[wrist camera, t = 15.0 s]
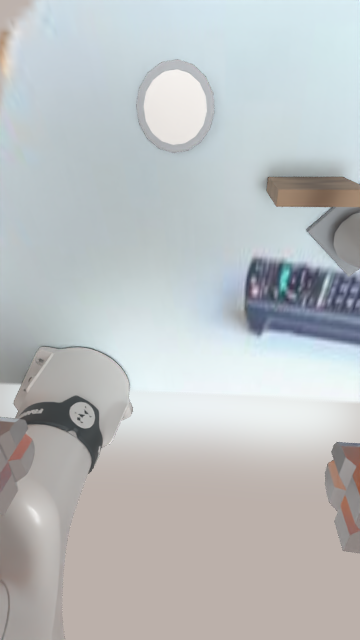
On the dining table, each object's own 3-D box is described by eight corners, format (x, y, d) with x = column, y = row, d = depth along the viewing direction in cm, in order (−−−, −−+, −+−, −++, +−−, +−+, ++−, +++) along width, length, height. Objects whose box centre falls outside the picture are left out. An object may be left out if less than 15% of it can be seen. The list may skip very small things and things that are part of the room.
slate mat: (346, 274, 42) (348, 276, 41) (306, 229, 40) (307, 231, 39) (408, 227, 38) (412, 229, 38) (367, 176, 36) (370, 177, 36)
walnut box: (343, 176, 37) (371, 189, 30) (339, 191, 37) (366, 207, 30) (268, 176, 37) (278, 189, 30) (266, 191, 38) (276, 206, 31)
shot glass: (151, 67, 33) (135, 56, 28) (220, 72, 33) (219, 61, 27) (149, 145, 37) (135, 149, 31) (211, 150, 37) (209, 156, 31)
